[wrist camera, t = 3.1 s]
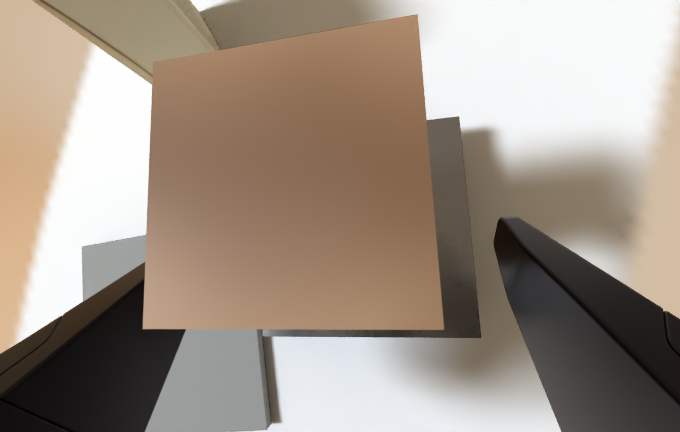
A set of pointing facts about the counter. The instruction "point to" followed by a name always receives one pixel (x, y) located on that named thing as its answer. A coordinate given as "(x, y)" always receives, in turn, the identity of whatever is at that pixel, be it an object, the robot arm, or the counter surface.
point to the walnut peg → (293, 186)
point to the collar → (438, 245)
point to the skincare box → (137, 29)
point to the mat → (194, 360)
